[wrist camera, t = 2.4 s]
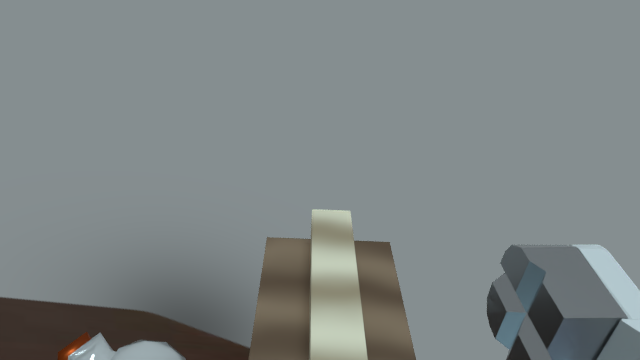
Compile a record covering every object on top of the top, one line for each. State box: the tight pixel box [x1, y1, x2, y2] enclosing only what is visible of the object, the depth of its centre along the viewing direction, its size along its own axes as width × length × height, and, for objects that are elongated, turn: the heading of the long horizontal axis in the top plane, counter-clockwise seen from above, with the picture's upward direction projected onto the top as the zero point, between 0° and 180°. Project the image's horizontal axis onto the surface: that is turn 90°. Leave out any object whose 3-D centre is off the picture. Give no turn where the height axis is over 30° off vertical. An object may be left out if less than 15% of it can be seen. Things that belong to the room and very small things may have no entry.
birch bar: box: [309, 209, 368, 360], centre depth 35 cm, size 22×3×3 cm, turn 0°
